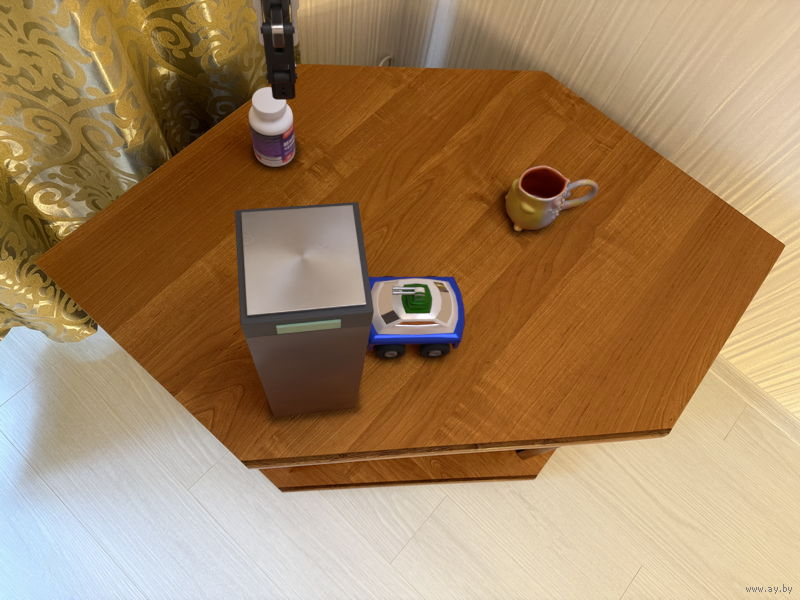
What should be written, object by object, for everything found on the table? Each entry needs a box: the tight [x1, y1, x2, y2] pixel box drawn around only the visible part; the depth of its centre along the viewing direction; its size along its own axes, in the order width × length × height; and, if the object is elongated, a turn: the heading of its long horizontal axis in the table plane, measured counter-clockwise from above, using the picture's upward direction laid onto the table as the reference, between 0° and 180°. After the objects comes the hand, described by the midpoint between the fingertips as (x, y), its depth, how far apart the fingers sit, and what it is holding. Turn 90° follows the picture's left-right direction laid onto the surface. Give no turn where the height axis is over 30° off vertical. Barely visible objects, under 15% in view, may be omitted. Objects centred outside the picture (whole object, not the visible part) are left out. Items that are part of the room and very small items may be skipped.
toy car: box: [367, 275, 466, 359], centre depth 67 cm, size 9×12×10 cm
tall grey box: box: [234, 201, 374, 418], centre depth 55 cm, size 9×9×28 cm
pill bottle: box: [248, 86, 296, 168], centre depth 75 cm, size 5×5×10 cm
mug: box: [504, 165, 600, 232], centre depth 77 cm, size 12×7×7 cm, turn 97°
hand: (281, 63), depth 59 cm, fingers open, 8 cm apart
